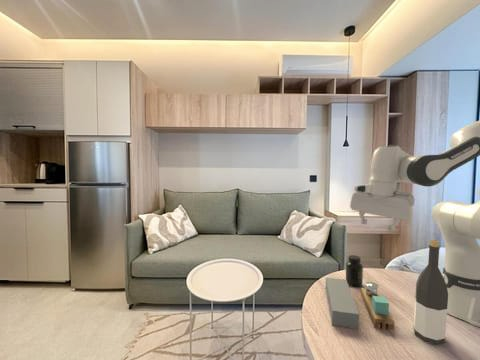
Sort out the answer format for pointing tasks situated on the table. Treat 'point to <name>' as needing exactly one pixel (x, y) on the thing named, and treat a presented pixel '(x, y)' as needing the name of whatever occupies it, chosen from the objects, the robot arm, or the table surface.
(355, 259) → the supplement bottle
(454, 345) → the table surface
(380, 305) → the mint green cube
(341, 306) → the dock
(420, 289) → the wine bottle
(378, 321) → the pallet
